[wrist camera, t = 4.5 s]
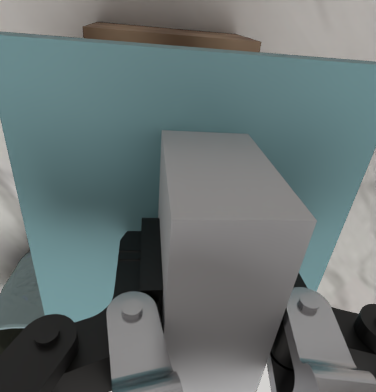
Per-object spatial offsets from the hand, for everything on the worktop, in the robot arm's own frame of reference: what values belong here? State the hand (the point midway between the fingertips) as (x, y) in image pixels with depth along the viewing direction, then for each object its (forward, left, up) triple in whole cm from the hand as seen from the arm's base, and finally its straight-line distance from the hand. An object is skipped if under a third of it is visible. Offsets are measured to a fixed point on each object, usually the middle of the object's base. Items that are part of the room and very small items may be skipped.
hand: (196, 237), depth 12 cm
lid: (0, 0, -3) cm, 3 cm away
